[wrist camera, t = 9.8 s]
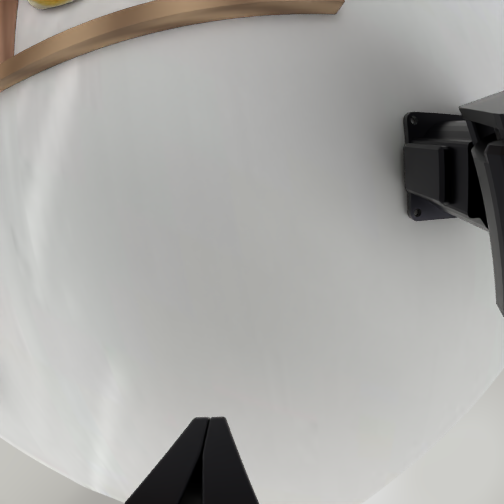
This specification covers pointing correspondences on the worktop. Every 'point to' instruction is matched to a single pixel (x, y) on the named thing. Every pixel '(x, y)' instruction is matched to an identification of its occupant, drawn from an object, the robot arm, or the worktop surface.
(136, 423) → the worktop surface
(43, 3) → the bread roll
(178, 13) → the guide channel
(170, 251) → the worktop surface
